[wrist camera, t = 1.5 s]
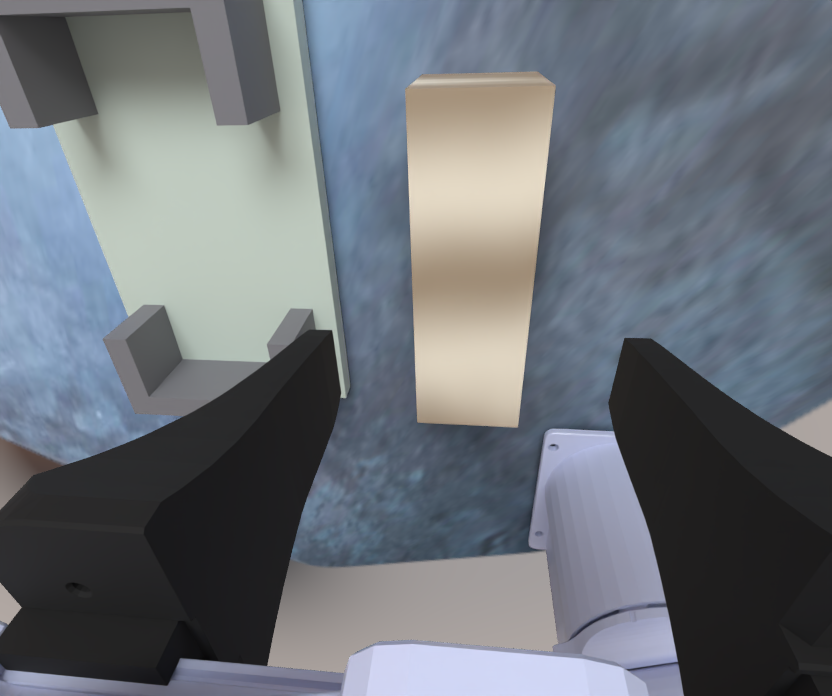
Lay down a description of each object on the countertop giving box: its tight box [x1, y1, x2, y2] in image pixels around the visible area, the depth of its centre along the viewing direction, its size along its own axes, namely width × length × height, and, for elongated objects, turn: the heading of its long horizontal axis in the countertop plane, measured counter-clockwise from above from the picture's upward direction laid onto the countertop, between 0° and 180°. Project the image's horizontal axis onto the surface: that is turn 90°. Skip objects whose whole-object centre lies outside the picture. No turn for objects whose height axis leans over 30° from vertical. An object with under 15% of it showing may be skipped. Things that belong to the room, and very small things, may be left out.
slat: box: [405, 72, 556, 427], centre depth 19 cm, size 12×4×5 cm, turn 2°
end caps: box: [0, 0, 350, 416], centre depth 19 cm, size 18×10×4 cm, turn 2°
